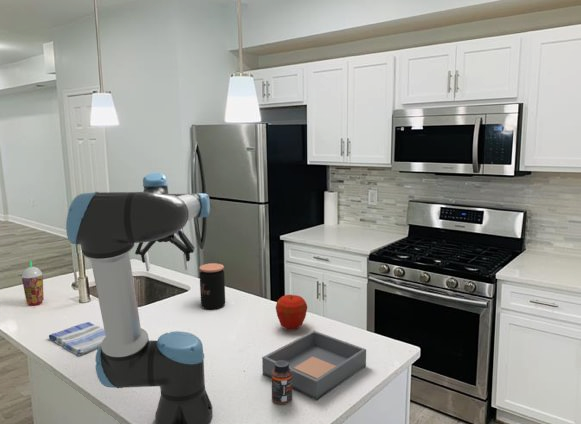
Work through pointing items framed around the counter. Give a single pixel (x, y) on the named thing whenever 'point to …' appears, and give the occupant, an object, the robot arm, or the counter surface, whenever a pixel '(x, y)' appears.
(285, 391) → the supplement bottle
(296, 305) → the apple
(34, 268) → the smoothie
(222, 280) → the coffee jar
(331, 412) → the counter surface
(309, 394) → the bin
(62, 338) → the dish towel
